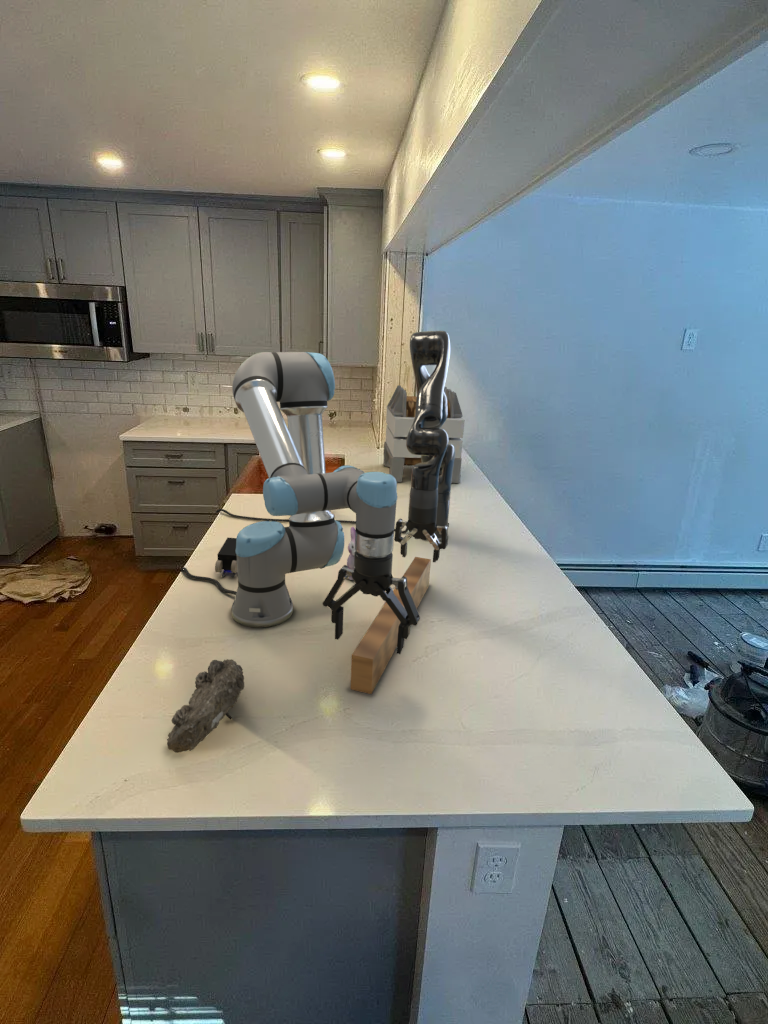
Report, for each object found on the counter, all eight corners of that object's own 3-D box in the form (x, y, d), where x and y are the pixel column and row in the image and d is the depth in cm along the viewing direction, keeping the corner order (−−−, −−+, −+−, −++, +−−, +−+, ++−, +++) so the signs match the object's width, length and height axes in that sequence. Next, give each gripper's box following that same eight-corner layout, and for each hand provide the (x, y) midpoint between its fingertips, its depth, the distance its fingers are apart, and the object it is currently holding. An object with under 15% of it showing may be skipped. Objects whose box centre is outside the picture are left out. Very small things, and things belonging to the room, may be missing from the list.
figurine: (352, 584, 162) (353, 535, 156) (338, 570, 170) (339, 523, 165) (381, 578, 166) (384, 531, 161) (366, 565, 174) (368, 519, 169)
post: (413, 583, 164) (415, 556, 162) (428, 586, 163) (431, 559, 160) (350, 689, 118) (351, 654, 115) (371, 694, 116) (372, 659, 114)
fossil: (192, 660, 117) (244, 628, 112) (224, 691, 120) (276, 661, 115) (142, 746, 98) (202, 712, 93) (182, 779, 101) (242, 748, 96)
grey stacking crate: (382, 463, 289) (386, 382, 275) (445, 464, 293) (451, 384, 279) (390, 482, 257) (394, 392, 243) (460, 483, 261) (468, 394, 247)
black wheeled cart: (238, 584, 162) (249, 557, 175) (236, 562, 158) (247, 536, 172) (215, 584, 161) (227, 556, 175) (212, 561, 158) (225, 535, 171)
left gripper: (307, 547, 111) (306, 639, 119) (431, 570, 104) (422, 666, 112) (322, 533, 118) (321, 621, 125) (440, 554, 111) (431, 646, 119)
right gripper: (393, 503, 148) (390, 560, 153) (447, 511, 144) (442, 568, 150) (401, 495, 154) (398, 549, 160) (452, 502, 151) (447, 557, 156)
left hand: (369, 643), depth 119 cm, fingers open, 13 cm apart
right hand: (419, 558), depth 155 cm, fingers open, 8 cm apart
